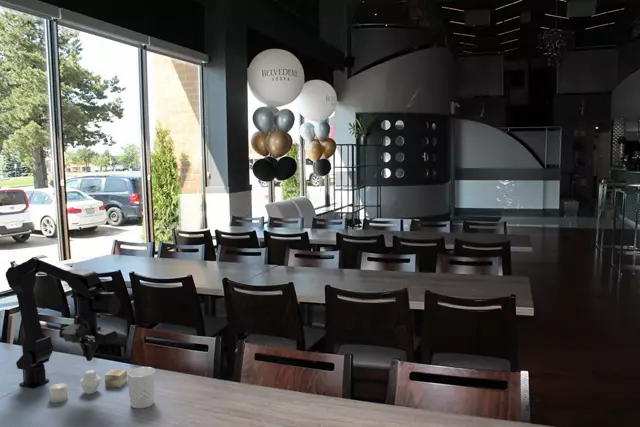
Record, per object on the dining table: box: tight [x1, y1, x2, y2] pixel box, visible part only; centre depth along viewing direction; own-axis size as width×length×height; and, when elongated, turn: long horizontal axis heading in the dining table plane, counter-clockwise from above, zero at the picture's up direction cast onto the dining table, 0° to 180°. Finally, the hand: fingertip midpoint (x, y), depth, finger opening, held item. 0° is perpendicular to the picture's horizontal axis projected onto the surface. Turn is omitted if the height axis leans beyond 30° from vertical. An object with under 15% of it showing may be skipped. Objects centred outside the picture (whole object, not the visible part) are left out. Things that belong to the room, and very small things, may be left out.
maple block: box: [104, 368, 128, 388], centre depth 185 cm, size 5×5×4 cm
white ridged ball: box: [79, 369, 102, 395], centre depth 179 cm, size 6×6×7 cm
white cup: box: [127, 366, 156, 409], centre depth 170 cm, size 8×8×10 cm
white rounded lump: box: [48, 382, 69, 404], centre depth 174 cm, size 5×5×4 cm
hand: (89, 360), depth 178 cm, fingers closed
